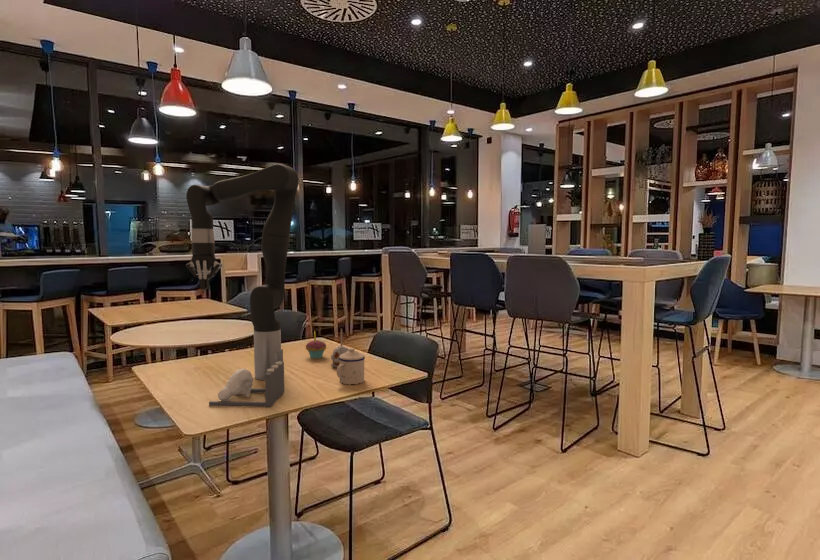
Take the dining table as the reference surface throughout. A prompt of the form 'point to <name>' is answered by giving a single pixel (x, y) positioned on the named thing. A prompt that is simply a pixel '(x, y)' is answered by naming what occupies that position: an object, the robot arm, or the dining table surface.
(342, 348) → the decorative ornament
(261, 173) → the robot arm
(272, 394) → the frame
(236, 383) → the cream figurine
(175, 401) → the dining table surface
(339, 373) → the teacup with lid
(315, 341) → the cupcake
